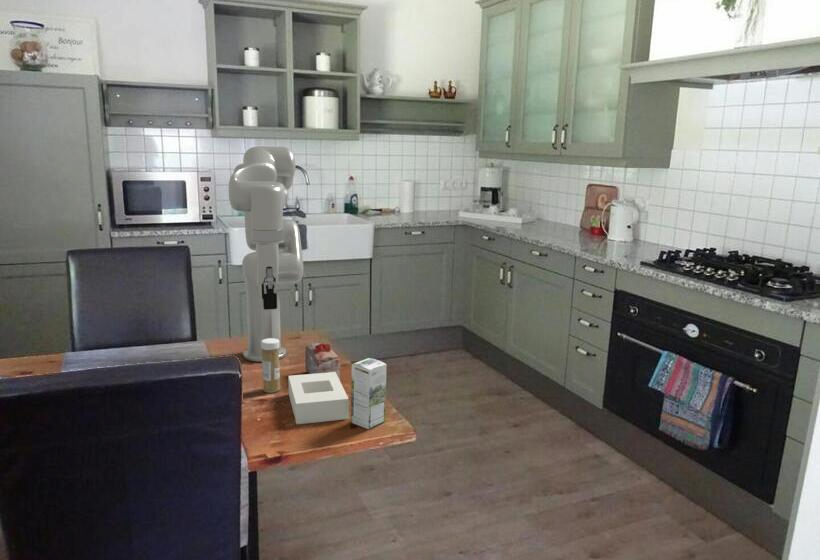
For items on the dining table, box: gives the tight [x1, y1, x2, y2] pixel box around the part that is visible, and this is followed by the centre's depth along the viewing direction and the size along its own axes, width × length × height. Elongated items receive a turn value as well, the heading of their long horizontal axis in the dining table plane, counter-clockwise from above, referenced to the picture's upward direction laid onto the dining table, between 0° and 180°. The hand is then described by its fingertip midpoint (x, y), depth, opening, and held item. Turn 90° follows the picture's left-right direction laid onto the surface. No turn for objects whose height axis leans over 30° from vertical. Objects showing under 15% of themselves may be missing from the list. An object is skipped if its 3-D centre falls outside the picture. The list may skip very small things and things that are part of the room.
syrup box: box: [350, 357, 388, 430], centre depth 140 cm, size 6×6×14 cm
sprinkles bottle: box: [261, 338, 281, 394], centre depth 158 cm, size 5×5×14 cm
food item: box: [304, 342, 341, 379], centre depth 167 cm, size 14×8×10 cm, turn 26°
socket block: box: [287, 372, 350, 425], centre depth 149 cm, size 18×12×5 cm, turn 16°
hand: (269, 303), depth 153 cm, fingers open, 9 cm apart
